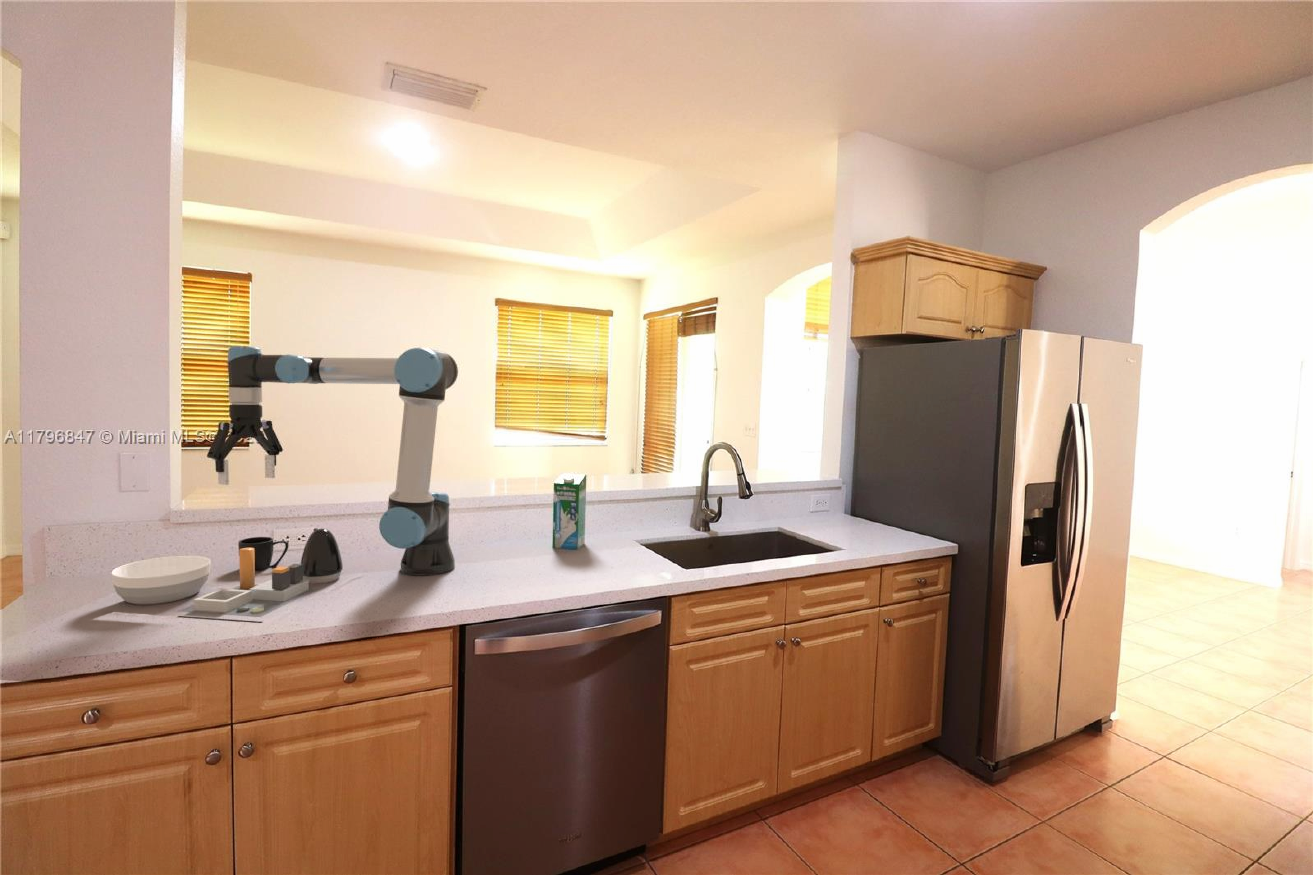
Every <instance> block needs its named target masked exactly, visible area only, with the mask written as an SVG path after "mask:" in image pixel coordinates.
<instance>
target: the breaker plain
mask: <svg viewBox="0 0 1313 875" xmlns="http://www.w3.org/2000/svg"><path fill="white" fill-rule="evenodd" d="M287 567H289V570H290V583H297V582H299V581H302V580H303V564H301V563H292V564H290V565H288V566H287Z"/></svg>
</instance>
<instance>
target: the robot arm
mask: <svg viewBox="0 0 1313 875" xmlns="http://www.w3.org/2000/svg"><path fill="white" fill-rule="evenodd" d="M227 351H228V352H227V362H226V363H227V371H228V372H227V373H228V402H230V403H231V404H229V406H228V411H229V412H228V416H229V418H230V422H228V421H227V422H226V421H225V422H223V421H220V422H219V423H218V425H217V431H216V434H215V436H214V439H213V441H212V443H211V446H210V447H209V450H208V452H207V454H206V457H207V458H208V459H211V460H212V461H213V460H214V461H215V462H214V463H215V472H216V473H217V476H218V482H217V483H218V485H223V486H227V485H229V484H230V482H229V481H230V478H229V459H226V458H227V457H228V455H229V454H230V453H231V451H232V450H233V448H235V446H236V444H237V443H238V442H239V441H240V440H241V439H248V438H252V439H254V440H255V441H256V442H257V443H258V444H259V445H260V447H261V448H262V449H263V450H264V452H265V453H267V454H264V478H266V479H275V478H276V475H275V474H276V473H275V472H276V470H275V467H277V456H279V455H280V453H282V452H283V450H284V449H283V447H282V445H281V442H280V441H279V438H278V436H277V434H276V432H275V430H274V428H273V421H272V420H265V419H263V420H261V419H262V418H263V406H262V404H261V403H262V402H263V388H262V387H263V386H262V384H263V383H276V384H277V383H278V384H279V383H281V384H311V385H312V384H313V385H317V384H344V385H345V384H346V385H347V384H349V385H351V384H353V385H354V384H356V385H358V384H361V385H363V384H365V385H375V384H376V385H398V386H399V388H398V390H399V391H398V397H399V398H400V400H401V401H402V402H403V404H404V405H403V411H402V412H403V414H402V420H401V422H402V423H401V434H400V444H399V454H398V463H397V473H396V474H397V475H396V484H395V490H393V492H392V493H390V494H389V496H388V502H387V510H386V511H385V512H383V514H382V516H381V518H380V519H379V524H378V526H379V527H378V528H379V532H380V535H381V537H382V539H383V540H385V542H386V543H387V544H388V545H390V546H392V547H394V548H397V549H405V550H404V552H403V555H402V558H401V560H400V571H401V572H402V573H403V574H407V575H410V576H411V575H412V576H433V575H434V576H435V575H441V574H445V573H447V572H451V571H452V570H454V569H455V567H456V566H455V556H454V554H453V551H452V548H451V545H450V542H449V539H450V536H449V534H450V532H449V530H450V506H451V503H450V497H449V495H448V494H447V493H446V492H438V491H437V492H436V491H435V492H434V491H430V488H431V487H430V486H431V476H432V468H433V467H432V466H433V458H434V456H433V455H434V448H435V438H436V431H437V430H436V428H437V418H438V410H439V406H440V405H442V403H443V402H445V399H446V398H445V397H446V390H448V389H449V388H451V387H452V386H453V385H454V384H455V383H456V382H457V378H458V374H459V368H458V364H457V363H456V360H455V359H454V358H453V357H452V356H451V355H450V354H449V353H446V352H445V351H442V350H439V349H432V348H428V347H421V346H419V347H413V348H409V349H407V350H405V351H404V352H403V353H401V354H400V355H399V356H398V357H316V356H315V357H310V356H309V357H307V356H301V355H295V354H263V353H262V351H261V348H259V347H256V346H244V345H243V346H241V345H240V346H239V345H238V346H237V345H233V346H230V347H229V348H228V350H227ZM261 429H262V430H261ZM230 430H231V431H230Z"/></svg>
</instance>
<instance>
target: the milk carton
mask: <svg viewBox="0 0 1313 875" xmlns="http://www.w3.org/2000/svg"><path fill="white" fill-rule="evenodd" d="M552 500H553V502H552V503H553V506H552V549H553V548H554V549H556V548H557V549H563V550H564V549H566V550H567V549H568V550H579V548H581V547H582V546H583V545H584V544H585V542H586V541H585V540H586V539H585V538H586V537H585V536H586V510H587V508H586V506H587V504H586V500H587V474H585V473H584V474H581V473H564V472H563V473H561V474H560V476H559V477H557V479H556V480H555V481H554V482H553V499H552Z"/></svg>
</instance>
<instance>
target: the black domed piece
mask: <svg viewBox="0 0 1313 875" xmlns="http://www.w3.org/2000/svg"><path fill="white" fill-rule="evenodd" d="M338 544H339V543H338V541H337V539H336V537H335V535H334V534H333V533H332V532H331V531H330V530H329V529H327V528H314V529H313V531H312V532H311V534H310V535H309V537H307V540H306V543H305V545H304V549H303V551H302V555H301V559H300V564H303V580H309V584H325V583H330V582H334V581H337V580H338V579H339V578H340V576H341V573H342V571H343V568H344V567H343V558H342V554H341V550H340V548H339V545H338Z"/></svg>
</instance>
